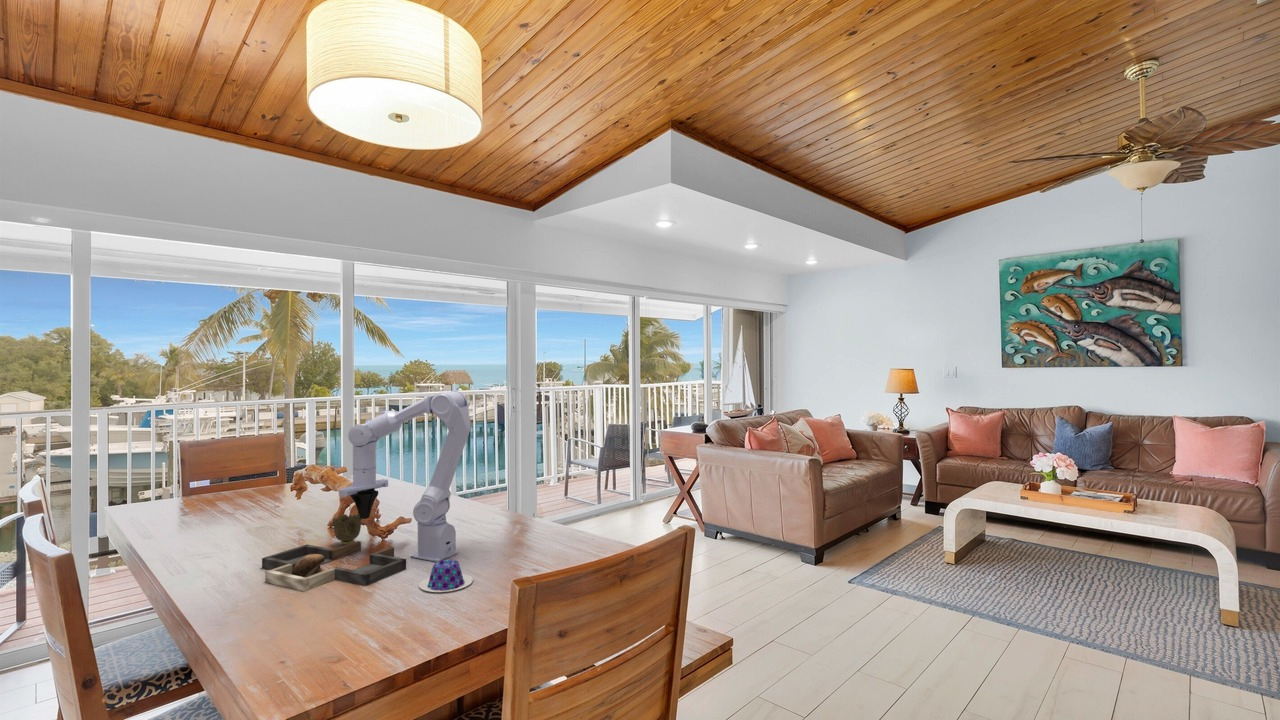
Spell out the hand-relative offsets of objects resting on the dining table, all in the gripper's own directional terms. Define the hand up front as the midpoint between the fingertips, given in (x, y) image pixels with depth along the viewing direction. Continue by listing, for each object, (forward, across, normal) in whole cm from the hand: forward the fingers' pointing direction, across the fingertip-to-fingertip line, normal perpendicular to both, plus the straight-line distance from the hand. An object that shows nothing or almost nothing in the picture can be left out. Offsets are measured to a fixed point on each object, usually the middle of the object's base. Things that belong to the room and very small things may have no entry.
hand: (364, 518), depth 165 cm
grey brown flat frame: (+9, +12, +3) cm, 16 cm away
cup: (+10, -3, -10) cm, 14 cm away
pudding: (+10, +9, +36) cm, 38 cm away
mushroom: (+10, +19, +3) cm, 22 cm away
